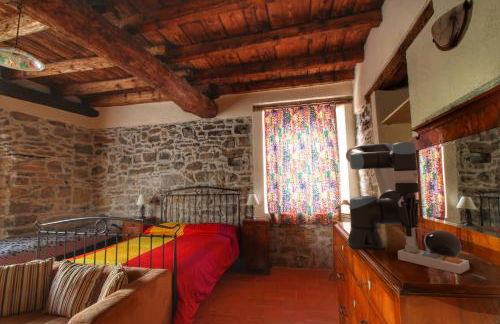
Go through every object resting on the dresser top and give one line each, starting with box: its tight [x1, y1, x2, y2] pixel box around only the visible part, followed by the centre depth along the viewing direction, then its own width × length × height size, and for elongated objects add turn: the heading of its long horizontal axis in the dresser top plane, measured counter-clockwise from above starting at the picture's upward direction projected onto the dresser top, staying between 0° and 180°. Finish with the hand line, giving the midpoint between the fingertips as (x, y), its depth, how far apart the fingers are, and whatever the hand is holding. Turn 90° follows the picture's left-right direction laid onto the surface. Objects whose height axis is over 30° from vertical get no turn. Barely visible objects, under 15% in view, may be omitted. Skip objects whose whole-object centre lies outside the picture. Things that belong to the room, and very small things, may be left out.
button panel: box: [397, 248, 470, 274], centre depth 81 cm, size 18×8×3 cm, turn 30°
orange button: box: [444, 256, 461, 264], centre depth 75 cm, size 4×4×2 cm
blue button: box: [423, 250, 438, 259], centre depth 81 cm, size 4×4×2 cm
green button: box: [404, 244, 419, 254], centre depth 86 cm, size 4×4×2 cm
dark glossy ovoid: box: [423, 229, 462, 257], centre depth 85 cm, size 10×10×15 cm
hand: (411, 244), depth 86 cm, fingers closed
